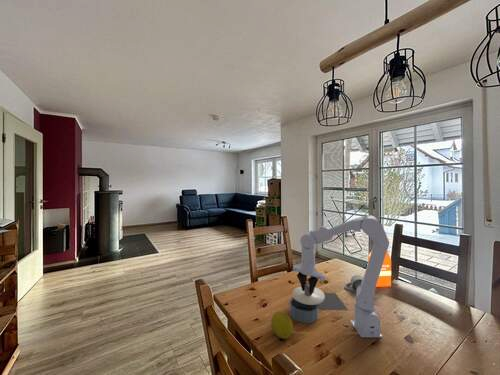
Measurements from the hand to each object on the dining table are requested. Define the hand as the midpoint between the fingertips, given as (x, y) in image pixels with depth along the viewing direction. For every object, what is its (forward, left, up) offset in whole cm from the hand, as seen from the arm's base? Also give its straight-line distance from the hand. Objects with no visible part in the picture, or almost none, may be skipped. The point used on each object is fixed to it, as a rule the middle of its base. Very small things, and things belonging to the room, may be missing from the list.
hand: (307, 291), depth 97 cm
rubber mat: (+9, -11, -9) cm, 17 cm away
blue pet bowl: (-2, +2, -9) cm, 10 cm away
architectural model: (+32, -12, -10) cm, 36 cm away
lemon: (-14, +13, -10) cm, 22 cm away
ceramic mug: (+20, -31, -10) cm, 38 cm away
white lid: (0, 0, -2) cm, 2 cm away
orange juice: (+29, -48, -10) cm, 57 cm away
